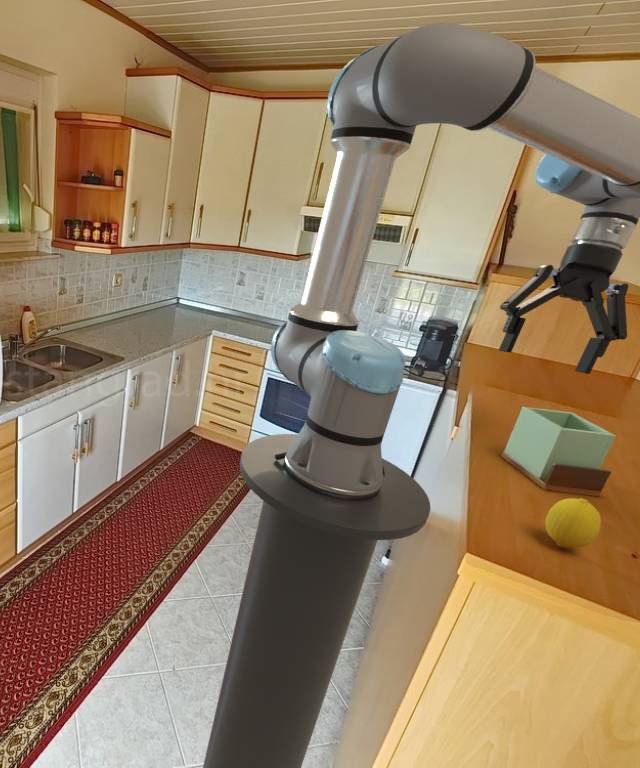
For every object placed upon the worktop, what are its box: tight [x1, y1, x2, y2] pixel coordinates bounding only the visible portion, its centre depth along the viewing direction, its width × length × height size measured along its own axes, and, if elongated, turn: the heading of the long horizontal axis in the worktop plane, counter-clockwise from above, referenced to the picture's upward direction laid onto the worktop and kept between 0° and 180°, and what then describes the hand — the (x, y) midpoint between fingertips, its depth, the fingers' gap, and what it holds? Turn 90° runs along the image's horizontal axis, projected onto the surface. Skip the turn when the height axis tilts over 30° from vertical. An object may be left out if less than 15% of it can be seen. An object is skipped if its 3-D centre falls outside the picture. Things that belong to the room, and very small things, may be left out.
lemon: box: [544, 497, 602, 549], centre depth 68 cm, size 6×6×8 cm
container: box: [503, 406, 617, 479], centre depth 89 cm, size 10×9×10 cm
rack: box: [501, 451, 612, 497], centre depth 90 cm, size 12×9×5 cm
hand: (542, 362), depth 90 cm, fingers open, 13 cm apart
